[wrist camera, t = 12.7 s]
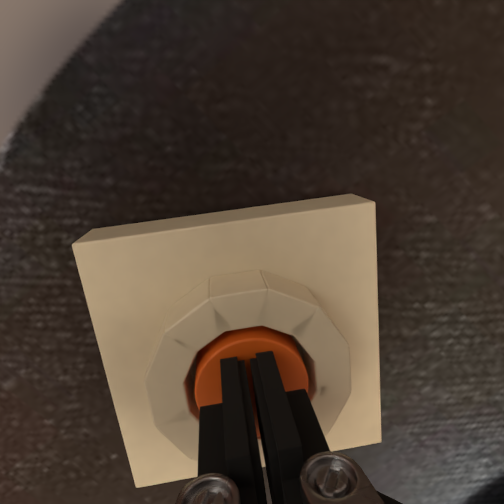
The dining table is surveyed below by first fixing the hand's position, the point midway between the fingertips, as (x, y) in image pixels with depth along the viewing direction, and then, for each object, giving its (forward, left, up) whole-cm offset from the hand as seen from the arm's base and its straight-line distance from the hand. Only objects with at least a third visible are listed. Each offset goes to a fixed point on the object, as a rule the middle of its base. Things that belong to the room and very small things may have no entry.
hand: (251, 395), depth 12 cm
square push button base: (0, 0, -4) cm, 4 cm away
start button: (0, 0, -2) cm, 2 cm away
